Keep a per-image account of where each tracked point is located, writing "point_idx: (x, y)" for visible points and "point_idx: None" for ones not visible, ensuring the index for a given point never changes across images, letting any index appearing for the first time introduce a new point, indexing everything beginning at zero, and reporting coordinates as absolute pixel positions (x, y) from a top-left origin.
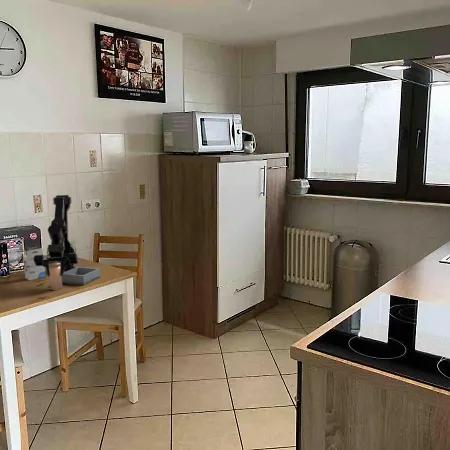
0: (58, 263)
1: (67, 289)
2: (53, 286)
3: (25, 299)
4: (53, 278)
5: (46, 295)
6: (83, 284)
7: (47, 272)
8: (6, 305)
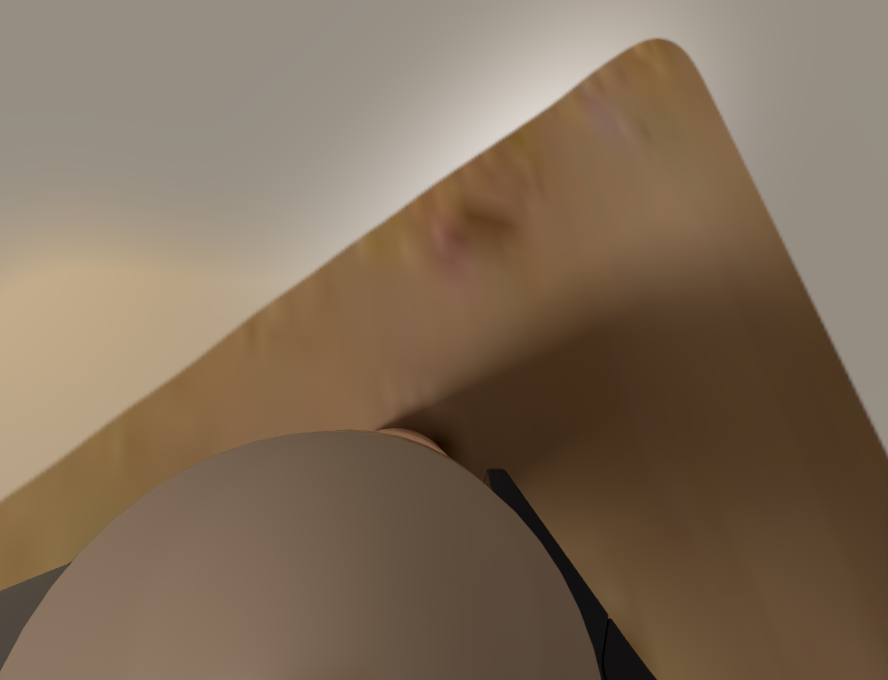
0: (90, 635)
1: (270, 435)
2: (416, 432)
3: (618, 224)
4: (404, 432)
5: (460, 286)
6: (62, 572)
7: (533, 513)
8: (714, 127)
